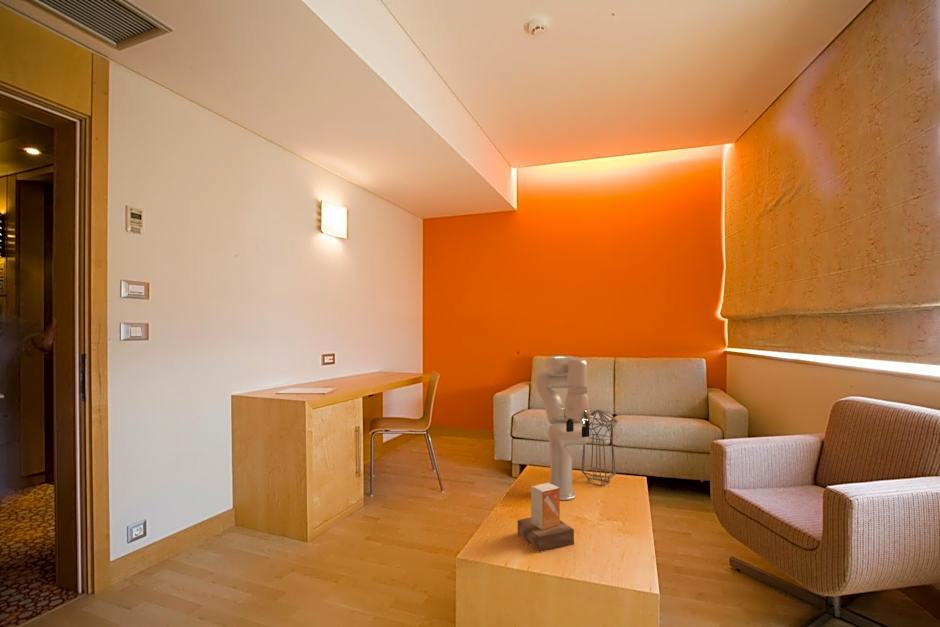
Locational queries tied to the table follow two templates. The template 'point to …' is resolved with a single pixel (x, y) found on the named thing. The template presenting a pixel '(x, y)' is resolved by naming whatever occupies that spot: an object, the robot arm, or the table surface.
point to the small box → (545, 506)
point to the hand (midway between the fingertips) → (577, 434)
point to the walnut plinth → (546, 535)
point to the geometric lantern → (599, 447)
